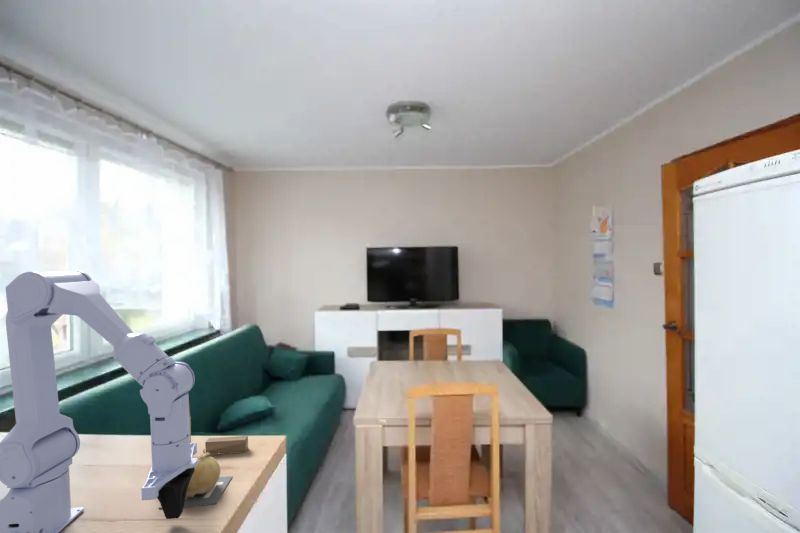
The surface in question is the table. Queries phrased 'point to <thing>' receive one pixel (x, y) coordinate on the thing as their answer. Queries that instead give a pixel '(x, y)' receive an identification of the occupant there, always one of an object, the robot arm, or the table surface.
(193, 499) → the card
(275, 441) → the table surface
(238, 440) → the rail
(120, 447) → the table surface
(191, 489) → the onion
